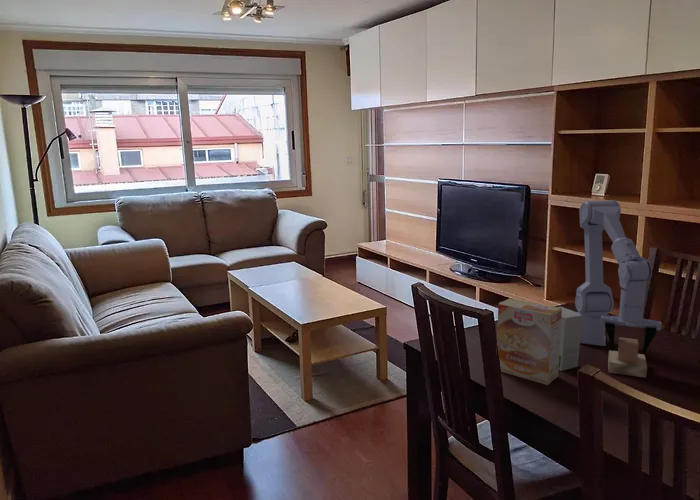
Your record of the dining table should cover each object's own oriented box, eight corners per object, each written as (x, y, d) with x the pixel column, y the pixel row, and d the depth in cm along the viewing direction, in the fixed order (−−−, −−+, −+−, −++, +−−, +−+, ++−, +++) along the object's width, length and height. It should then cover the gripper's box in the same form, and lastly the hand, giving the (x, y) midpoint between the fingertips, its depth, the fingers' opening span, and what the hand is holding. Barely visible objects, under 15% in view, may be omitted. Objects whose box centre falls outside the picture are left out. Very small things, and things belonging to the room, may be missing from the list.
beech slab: (608, 372, 148) (609, 362, 147) (608, 360, 156) (608, 350, 155) (646, 377, 144) (647, 367, 144) (643, 364, 152) (644, 354, 152)
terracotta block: (618, 360, 148) (619, 342, 147) (618, 354, 153) (619, 337, 152) (637, 362, 147) (638, 345, 146) (636, 356, 151) (637, 339, 150)
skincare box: (540, 360, 157) (542, 309, 154) (558, 356, 159) (560, 305, 156) (562, 371, 149) (565, 317, 146) (580, 367, 152) (583, 313, 149)
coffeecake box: (495, 370, 151) (497, 303, 147) (507, 362, 156) (509, 297, 152) (547, 386, 141) (551, 314, 137) (558, 376, 146) (562, 307, 142)
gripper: (602, 305, 146) (598, 353, 149) (664, 311, 140) (659, 360, 143) (602, 298, 152) (598, 344, 155) (661, 303, 146) (656, 351, 149)
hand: (627, 351), depth 149 cm, fingers open, 7 cm apart
